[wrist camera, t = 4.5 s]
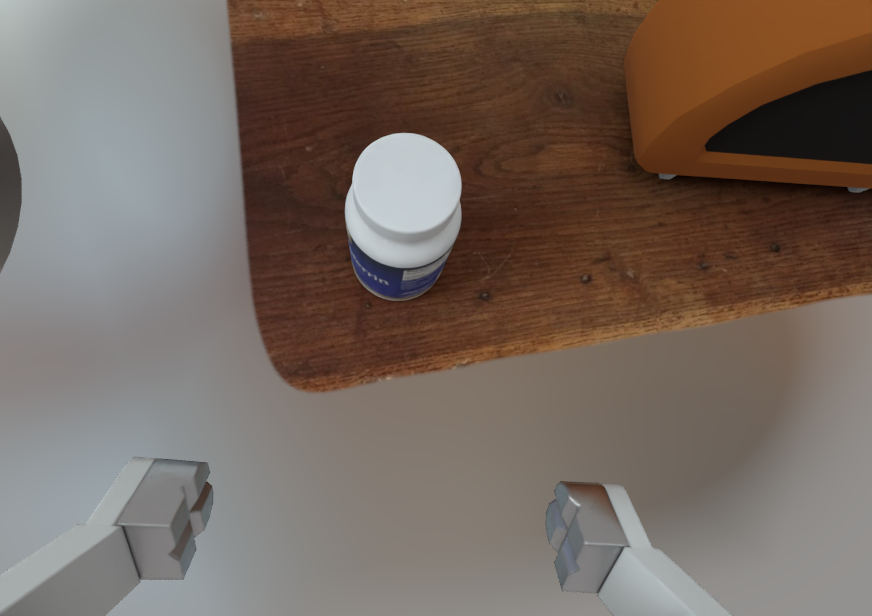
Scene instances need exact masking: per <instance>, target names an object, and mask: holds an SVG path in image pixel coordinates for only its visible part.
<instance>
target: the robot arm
mask: <svg viewBox="0 0 872 616" xmlns="http://www.w3.org/2000/svg"><path fill="white" fill-rule="evenodd" d="M209 474H210V471H209V466H208V463H206V462H195V461H182V460H171V459H157V458H143V457H134V458H132V459H131V460H130V461H129V462H127V463H126V465H125V466H124V468H123V469H122V471H121V472H120V474H119V475H118V477H117V478H116V480H115V481H114V483H113V484H112V486H111V487H110V489H109V490H108V492H107V493H106V495H105V496H104V498H103V499H102V501H101V502H100V503H99V505H98V507H97V508H96V510H95V511H94V512H93V514H92V515H91V517H90V518H89V520H88V521H87V523H86V524H77V525H76V526H74V527H73V528H71V529H70V530H68V531H67V532H65V533H64V534H62V535H61V536H59V537H58V538H56V539H55V540H53V541H52V542H50V543H48V544H47V545H45V546H44V547H43V548H41V549H39V550H38V551H36V552H35V553H33V554H32V555H30V556H29V557H27V558H26V559H24V560H23V561H21V562H20V563H18V564H17V565H15V566H14V567H12V568H10V569H9V570H7V571H6V572H4V573H3V574H1V575H0V616H105V615H106V614H107V613H108V612H109V611H110V610H112V609H113V608H114V607H115V606H116V605H117V604H118V603H119V602H120V601H121V600H122V599H123V598H124V597H125V596H126V595H127V594H128V593H130V591H132V590H133V589H134V588H135V587H136V586H137V585H138V584H139V583H140V579H148V580H152V579H153V580H155V579H156V580H157V579H158V580H163V579H164V580H173V579H174V580H183V579H184V577H185V575H186V572H187V570H188V568H189V565H190V563H191V560H192V558H193V556H194V553H195V551H196V545H195V540H194V538H195V537H196V536H197V535H199V534H200V533H201V532H202V531H204V530H205V527H206V525H207V522H208V520H209V517H210V513H211V509H212V505H213V488H212V485H210V484H209V483H208V482H207V481H206V480H207V478H208V476H209ZM555 496H556V499H555V500H554V501H552V502H551V503H549V506H548V509H547V512H546V532H547V536H548V540H549V544H550V545H551V546H552V547H553V548H554V549H555V551H556V552H557V553H558V555H557V557H556V560H555V562H554V563H555V567H556V570H557V574H558V578H559V582H560V585H561V589H562V591H566V592H582V593H598V595H597V596H598V597H599V598H600V600H601V601H602V602H603V603H604V605H605V606H606V607H607V608H608V610H609V611H610V612H611V614H612V615H613V616H733V615H732V614H731V613H730V612H729V611H728V610H727V609H726V608H725V607H723V606H722V605H721V604H720V603H719V602H718V601H717V600H716V599H715V598H714V597H712V596H711V595H710V594H709V593H708V592H707V591H706V590H705V589H704V588H702V587H701V586H700V585H699V584H698V583H696V581H694V580H693V579H692V578H691V577H690V576H689V575H688V574H687V573H686V572H685V571H684V570H682V569H681V568H680V567H679V566H678V565H677V564H676V563H675V562H673V561H672V560H671V559H670V558H669V557H668V556H667V555H666V554H665V553H663V552H662V551H661V550H660V549H659V548H653V547H652V545H651V543H650V541H649V538H648V536H647V534H646V532H645V530H644V528H643V526H642V524H641V522H640V519H639V517H638V515H637V513H636V511H635V509H634V507H633V505H632V502H631V500H630V498H629V496H628V494H627V492H626V490H625V488H624V487H623V486H622V485H618V484H599V483H588V482H587V483H586V482H564V481H561V482H559V483H558V484H557V486H556V488H555Z"/></svg>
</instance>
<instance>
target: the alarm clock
mask: <svg viewBox="0 0 872 616" xmlns="http://www.w3.org/2000/svg"><path fill="white" fill-rule="evenodd" d="M623 64H624V73H625V81H626V89H627V98H628V106H629V115H630V123H631V131H632V140H633V148H634V157H635V159H636V161H637V163H638V164H639V165H640V166H641V167H642V168H643V169H644V170H645V171H646V172H651V173H658V174H659V178H661V179H671V178H673V177H675V176H676V175H686V176H700V177H714V178H728V179H742V180H756V181H770V182H784V183H799V184H813V185H827V186H841V187H848V191H850V192H858V193H860V192H862V191H865V190H867V189H872V0H658V1H657V2H656V4H655V5H654V7H653V8H652V9H651V11H650V12H649V14H648V15H647V16H646V18H645V19H644V21H643V22H642V23H641V25H640V26H639V28H638V29H637V30H636V32H635V33H634V36H633V38H632V40H631V43H630V45H629V48H628V50H627V52H626V55H625V57H624V61H623Z"/></svg>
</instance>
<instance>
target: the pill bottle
mask: <svg viewBox="0 0 872 616" xmlns="http://www.w3.org/2000/svg"><path fill="white" fill-rule="evenodd" d="M352 183H353V184H352V185H351V187H350V189H349V191H348V194H347V198H346V203H345V221H346V228H347V234H348V242H349V247H350V254H351V260H352V265H353V269H354V272H355V274H356V276H357V278H358V279H359V281H360V282H361V283H362V285H363V286H364V287H365V288H366V289H368V290H369V291H370V292H371V293H373V294H375V295H376V296H378V297H381V298H384V299H387V300H394V301H402V300H409V299H413V298H416V297H418V296H420V295H422V294H423V293H425V292H426V291H428V290H429V289H430V288H431V287H432V286H433V285H434V283H435V282H436V281H437V279H438V278H439V276H440V274H441V272H442V270H443V267H444V265H445V263H446V261H447V258H448V256H449V254H450V251H451V249H452V247H453V245H454V243H455V240H456V238H457V235H458V232H459V229H460V225H461V205H460V201H459V200H460V196H461V188H462V184H461V176H460V172H459V169H458V167H457V164H456V163H455V161H454V159H453V158H452V156H451V155H450V154H449V153H448V152H447V150H446V149H444V148H443V147H442V146H441V145H439V144H438V143H437V142H435V141H433V140H431V139H429V138H427V137H425V136H422V135H417V134H412V133H397V134H391V135H388V136H385V137H382V138H380V139H378V140H376V141H375V142H373V143H372V144H370V145H369V146H368V147H367V148H366V149H365V150H364V151H363V152H362V154H361V155H360V157H359V158H358V160H357V162H356V165H355V168H354V172H353V179H352Z"/></svg>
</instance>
